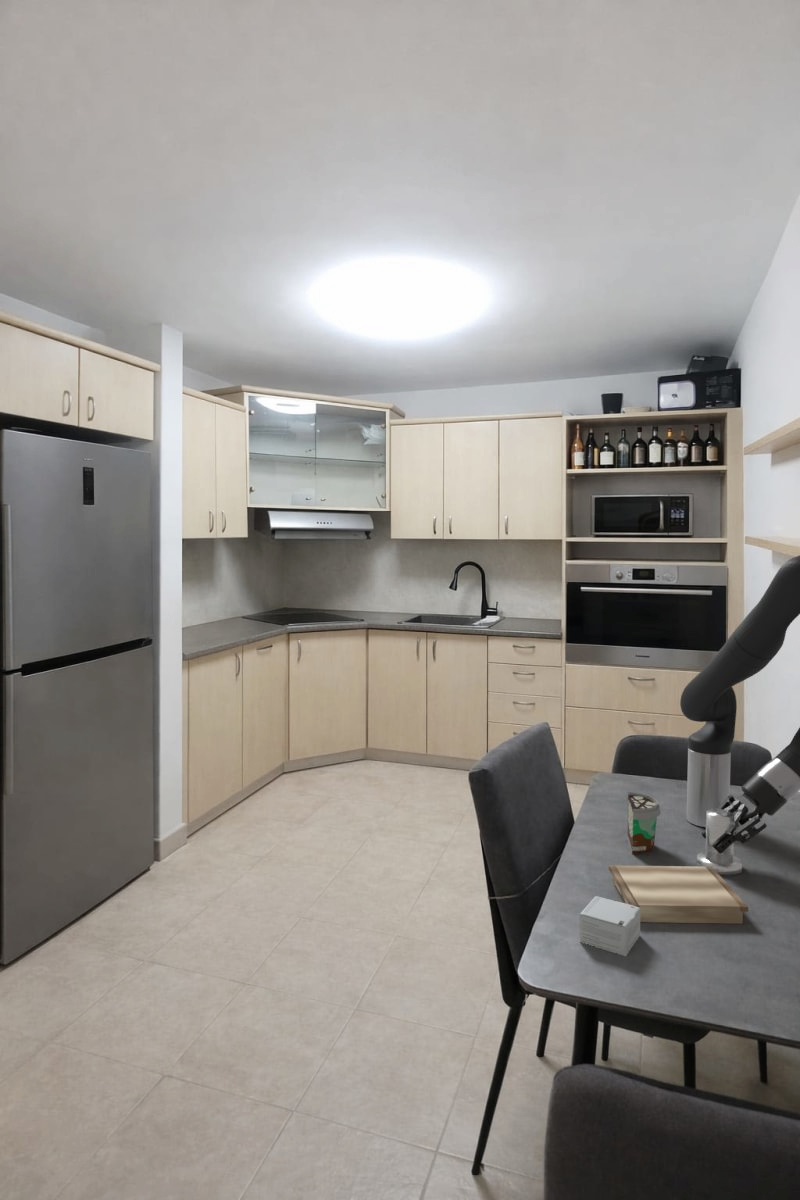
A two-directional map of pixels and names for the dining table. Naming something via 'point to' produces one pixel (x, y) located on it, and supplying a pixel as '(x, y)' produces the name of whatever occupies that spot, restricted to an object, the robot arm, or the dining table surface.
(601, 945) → the small box
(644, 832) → the food container
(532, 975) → the dining table surface
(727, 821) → the bell jar
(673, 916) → the stand
